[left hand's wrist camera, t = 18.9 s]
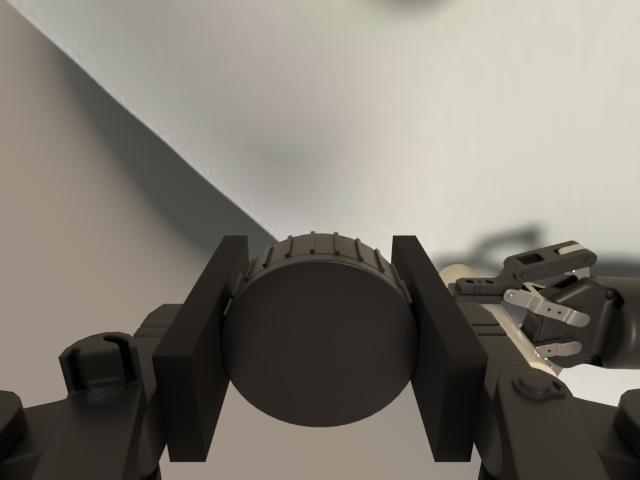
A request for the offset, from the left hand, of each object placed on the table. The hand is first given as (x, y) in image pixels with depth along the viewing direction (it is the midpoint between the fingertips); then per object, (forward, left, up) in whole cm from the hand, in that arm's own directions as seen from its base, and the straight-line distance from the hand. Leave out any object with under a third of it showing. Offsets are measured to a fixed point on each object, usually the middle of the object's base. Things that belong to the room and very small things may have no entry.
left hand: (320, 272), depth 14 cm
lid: (0, 0, +4) cm, 4 cm away
